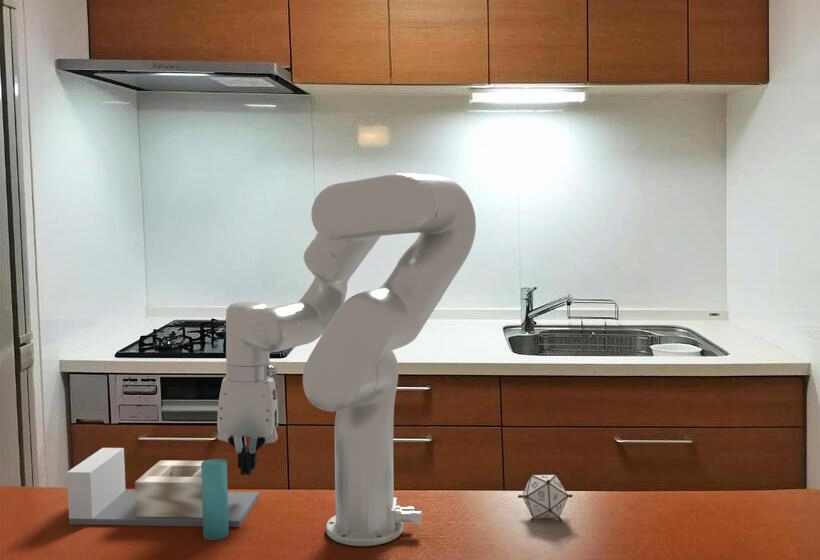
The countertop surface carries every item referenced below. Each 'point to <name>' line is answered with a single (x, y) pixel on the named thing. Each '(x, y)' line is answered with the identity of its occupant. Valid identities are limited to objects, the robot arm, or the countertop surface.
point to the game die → (545, 496)
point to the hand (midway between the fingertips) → (247, 472)
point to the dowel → (215, 499)
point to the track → (127, 496)
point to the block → (170, 490)
